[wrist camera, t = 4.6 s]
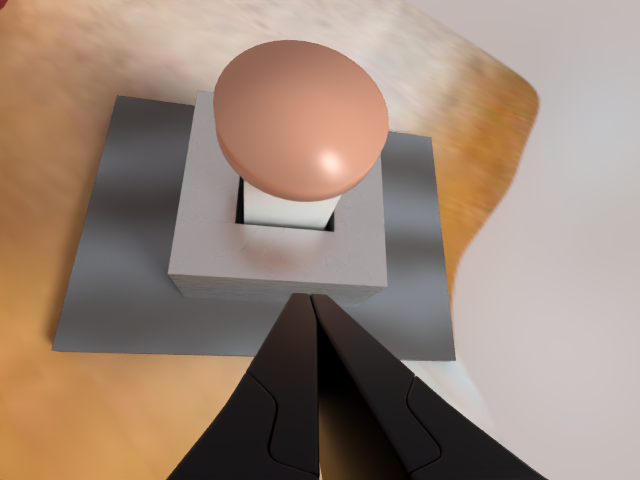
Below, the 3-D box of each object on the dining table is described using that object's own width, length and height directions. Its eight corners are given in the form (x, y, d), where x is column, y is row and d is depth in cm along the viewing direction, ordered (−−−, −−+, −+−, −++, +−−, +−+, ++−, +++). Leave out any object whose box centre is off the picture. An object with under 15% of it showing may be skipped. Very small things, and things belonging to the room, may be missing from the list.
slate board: (447, 361, 23) (455, 360, 22) (60, 351, 20) (51, 350, 19) (425, 145, 29) (431, 137, 28) (121, 105, 25) (117, 95, 24)
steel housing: (358, 305, 22) (387, 286, 18) (184, 297, 21) (167, 273, 16) (355, 162, 26) (378, 116, 21) (206, 145, 24) (197, 90, 20)
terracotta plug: (345, 254, 19) (393, 195, 13) (216, 245, 18) (202, 175, 12) (344, 148, 21) (384, 54, 15) (229, 134, 20) (223, 27, 14)
